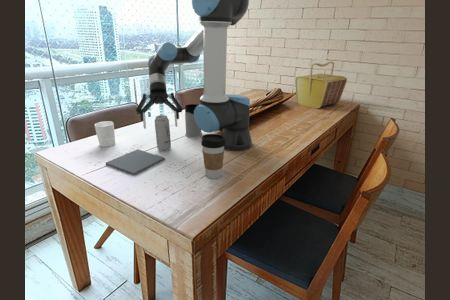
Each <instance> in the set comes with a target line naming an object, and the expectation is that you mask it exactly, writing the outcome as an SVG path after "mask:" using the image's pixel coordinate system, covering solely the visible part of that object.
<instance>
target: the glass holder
mask: <svg viewBox="0 0 450 300" xmlns="http://www.w3.org/2000/svg"><path fill="white" fill-rule="evenodd" d="M198 105H199V104H197V103H190V104H185V106H184V119H185V120H184V121H185V134H184V135H185V137H186V138H191V139H194V138H195V139H197V138H200V137H202V136H203V133H202V130H201V129H200V128H199V126H198V125H197V124H196V121H195V118H194V110H195V108H196V107H197V106H198Z"/></svg>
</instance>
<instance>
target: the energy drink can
mask: <svg viewBox="0 0 450 300" xmlns="http://www.w3.org/2000/svg"><path fill="white" fill-rule="evenodd" d="M170 127H171V126H170V119H169V118H168V116H167V115H164V114H159V115H156V116H155V119H154V130H155V140H156V148H157V150H158V151H159V152H167V151H168V152H169V151H170V149H171V148H172V146H171V145H172V143H171V142H172V141H171V130H170Z"/></svg>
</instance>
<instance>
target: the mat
mask: <svg viewBox="0 0 450 300" xmlns="http://www.w3.org/2000/svg"><path fill="white" fill-rule="evenodd" d="M165 160H166V158H165V157H163V156H161V155H158V154H154V153H151V152H148V151H145V150H142V149H138V148H137V149H135V150H133V151H130V152H128V153H125V154H123V155H120V156H118V157H116V158H114V159H111V160H109V161H107V162H105V165H106V166H108V167H111V168H114V169H116V170H118V171H121V172H124V173H126V174H129V175H131V176H136V175H138V174H140V173H142V172H144V171H146V170H148V169H150V168H152V167H154V166H156V165H158V164H159V163H162V162H164V161H165Z"/></svg>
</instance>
